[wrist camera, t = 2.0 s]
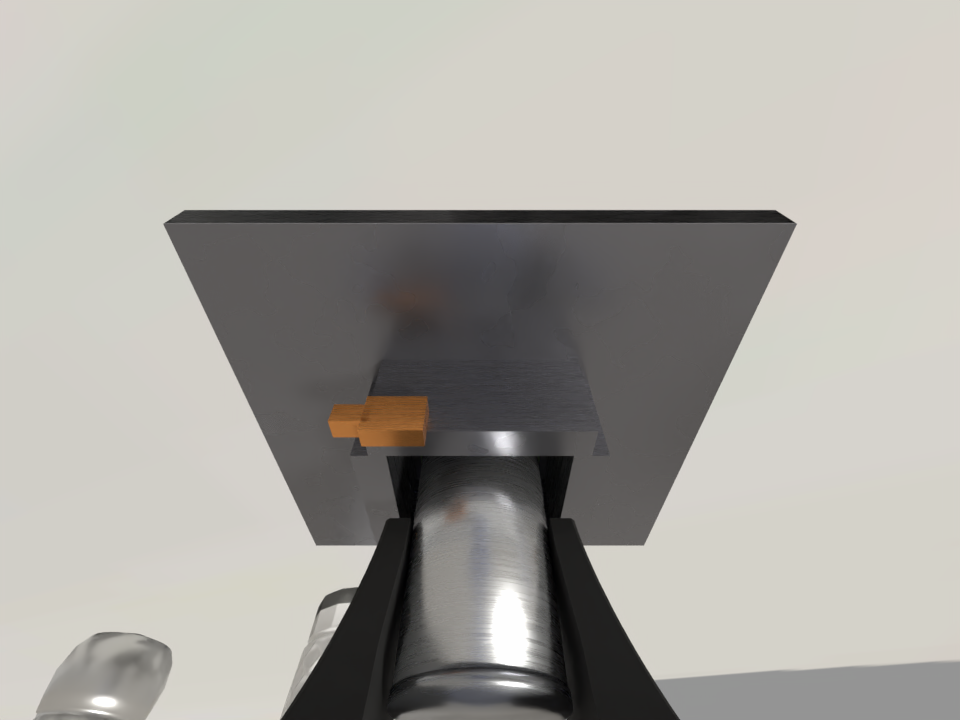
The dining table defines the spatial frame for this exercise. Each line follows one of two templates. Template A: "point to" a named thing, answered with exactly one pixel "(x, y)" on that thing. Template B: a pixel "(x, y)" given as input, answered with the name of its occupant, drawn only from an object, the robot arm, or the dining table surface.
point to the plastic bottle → (108, 679)
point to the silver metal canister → (480, 598)
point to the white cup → (320, 637)
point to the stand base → (480, 347)
